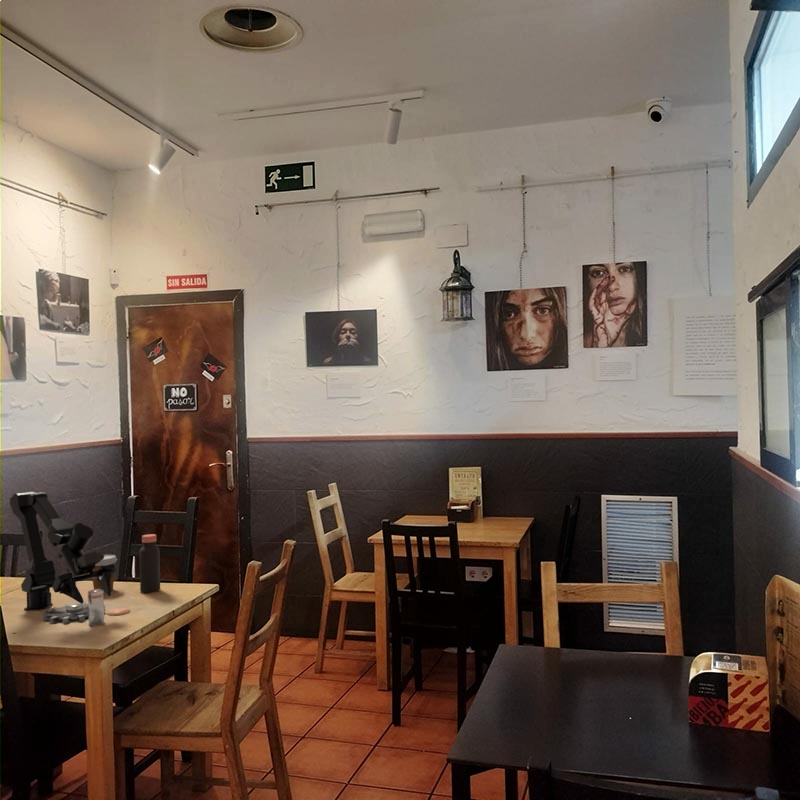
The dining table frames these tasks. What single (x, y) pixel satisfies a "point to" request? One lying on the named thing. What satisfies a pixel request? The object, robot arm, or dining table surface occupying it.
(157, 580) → the bottle
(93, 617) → the pin
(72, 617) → the sprocket
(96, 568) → the disposable coffee cup
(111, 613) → the seat pad
